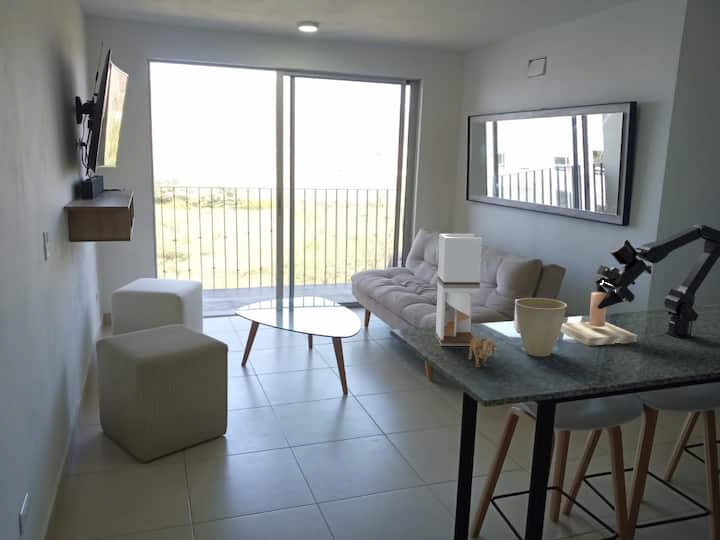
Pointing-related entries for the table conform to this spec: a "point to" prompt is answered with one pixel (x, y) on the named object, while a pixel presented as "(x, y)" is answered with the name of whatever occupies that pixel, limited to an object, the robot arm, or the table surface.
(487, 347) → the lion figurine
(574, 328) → the birch base plate
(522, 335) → the plant pot
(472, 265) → the white two-tier tower
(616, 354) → the table surface
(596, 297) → the peach capsule
